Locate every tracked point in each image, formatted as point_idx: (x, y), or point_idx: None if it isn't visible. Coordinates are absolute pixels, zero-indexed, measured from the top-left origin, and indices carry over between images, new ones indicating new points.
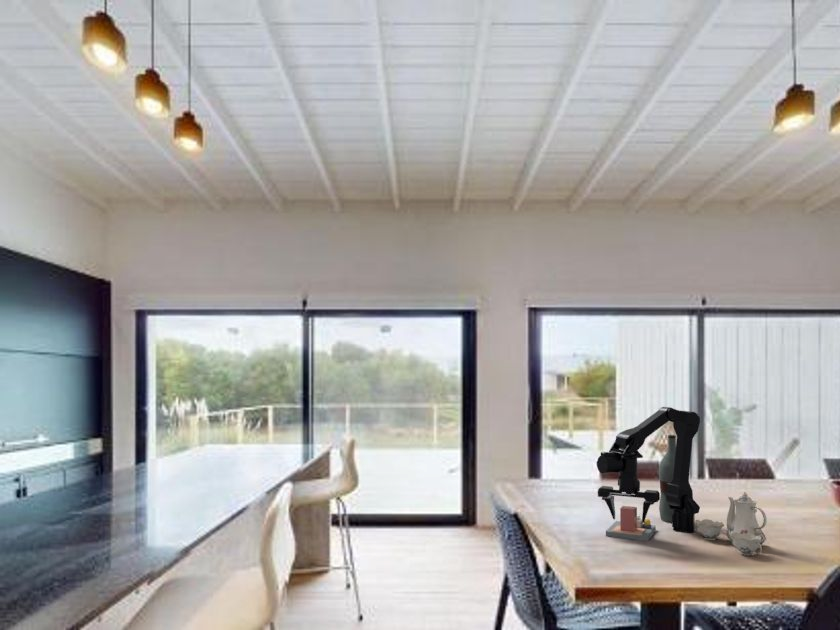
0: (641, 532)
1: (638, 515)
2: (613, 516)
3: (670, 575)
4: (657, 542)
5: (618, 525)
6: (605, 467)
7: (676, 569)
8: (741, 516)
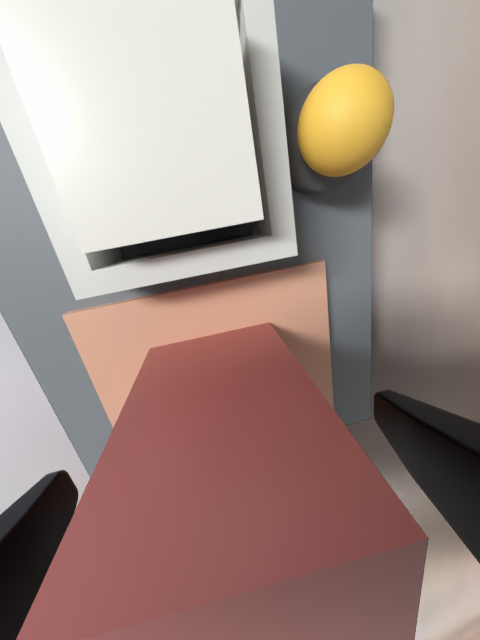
0: (328, 397)
1: (238, 75)
2: (56, 545)
3: (461, 637)
4: (403, 387)
5: (42, 251)
6: None
7: (476, 602)
8: None
